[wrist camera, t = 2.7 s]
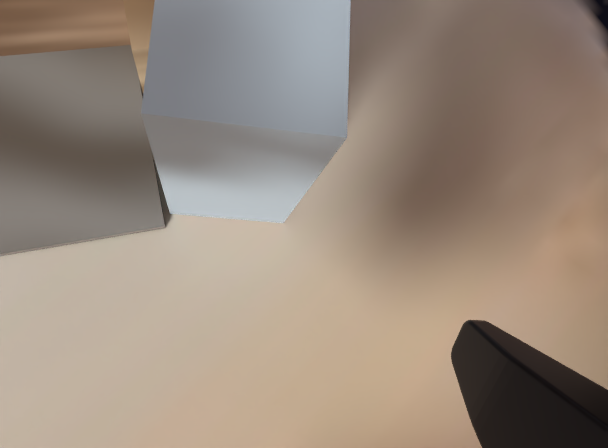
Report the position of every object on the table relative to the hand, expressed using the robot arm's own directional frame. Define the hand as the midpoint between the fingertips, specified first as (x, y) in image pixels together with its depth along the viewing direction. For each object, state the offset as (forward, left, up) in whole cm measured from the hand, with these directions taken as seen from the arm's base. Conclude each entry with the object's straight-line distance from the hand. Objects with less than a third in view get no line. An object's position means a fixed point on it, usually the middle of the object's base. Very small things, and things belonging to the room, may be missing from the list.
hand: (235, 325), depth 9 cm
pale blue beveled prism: (+6, -4, -12) cm, 14 cm away
